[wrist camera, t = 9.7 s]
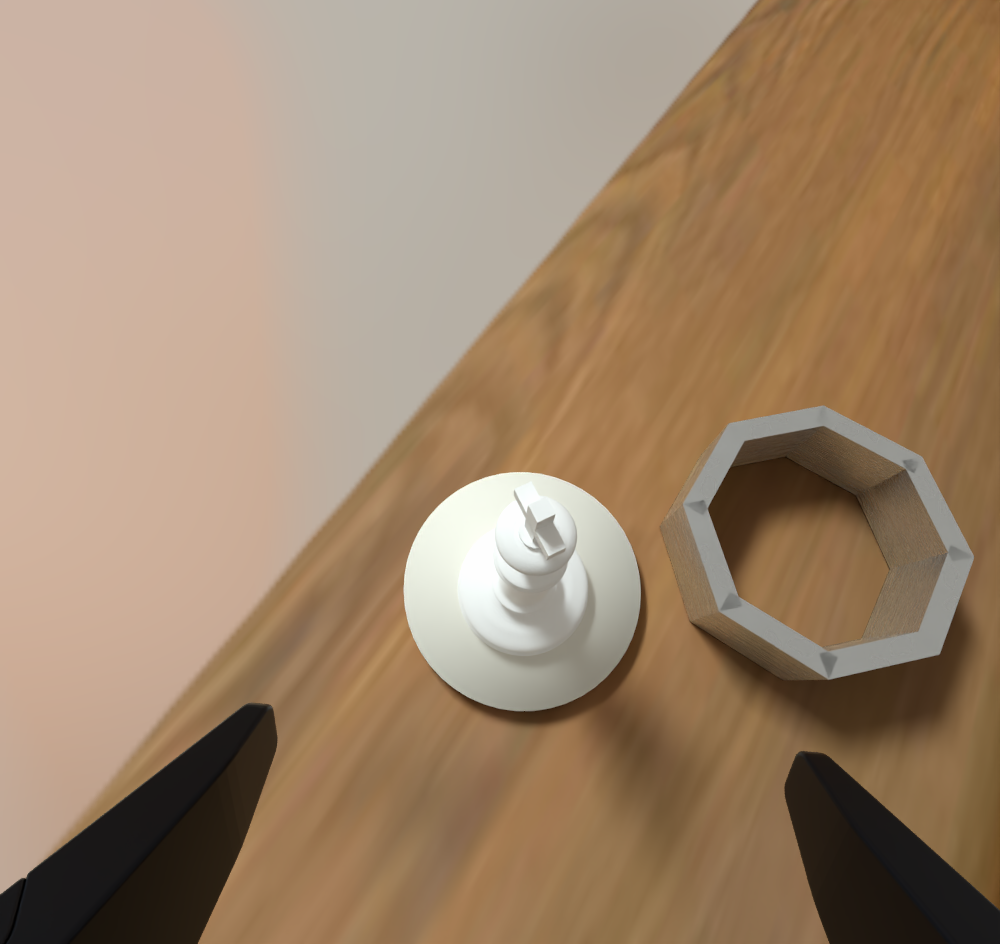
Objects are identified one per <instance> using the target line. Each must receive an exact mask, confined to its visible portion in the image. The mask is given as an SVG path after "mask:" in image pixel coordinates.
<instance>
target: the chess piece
mask: <svg viewBox="0 0 1000 944" xmlns="http://www.w3.org/2000/svg"><path fill="white" fill-rule="evenodd" d="M514 497H515V499H516V500H515V501H513V502H512V503H510V504H509V505H508V506H507V507H506V508H505V509H504V510H503V511H502V513H501V514H500V516H499V518H498V521H497V524H496V528H495V529H493V530H491V531H489V532H488V533H486V534H485V535H484V536H482V537H481V538H480V539H479V540H478V541H477V542H476V543H475V544H474V545H473V546H472V548H471V549H470V551H469V552H468V554H467V556H466V557H465V560H464V562H463V564H462V567H461V570H460V573H459V578H458V600H459V605H460V609H461V612H462V614H463V617H464V619H465V621H466V622H467V624H468V626H469V627H470V629H471V630H472V631H473V632H474V634H475V635H476V636H477V637H478V638H479V639H480V640H482V641H483V642H484V643H486V644H487V645H488V646H490V647H492V648H494V649H496V650H498V651H500V652H503V653H506V654H510V655H516V656H531V655H538V654H542V653H545V652H547V651H550V650H552V649H554V648H556V647H557V646H559V645H560V644H562V643H563V642H564V641H566V640H567V639H568V638H569V637H570V636H571V635H572V634H573V632H574V631H575V630H576V628H577V627H578V625H579V624H580V622H581V620H582V618H583V615H584V613H585V609H586V606H587V600H588V579H587V574H586V570H585V567H584V564H583V562H582V559H581V558H580V556H579V554H578V552H577V551H576V550H575V548H576V543H577V529H576V525H575V522H574V520H573V518H572V516H571V514H570V513H569V511H568V510H567V509H566V508H565V507H564V506H563V505H562V504H560V503H559V502H557V501H556V500H554V499H552V498H549V497H547V496H540V495H538V493H537V491H536V489H535V487H534V485H533V483H532V481H531V482H528V483H526V484H524V485H522V486H520V487H517V488H515V489H514Z"/></svg>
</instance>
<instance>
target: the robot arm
mask: <svg viewBox="0 0 1000 944" xmlns="http://www.w3.org/2000/svg"><path fill="white" fill-rule="evenodd" d="M276 748H277V731H276V724H275V717H274V711H273V708H272V706H271V705H269V704H260V703H248V704H246V705H244V706H242V707H241V708H240V709H239V710H237V711H236V712H235V713H233V714H232V715H231V716H230V717H228V718H227V719H226V720H224V721H223V722H222V723H221V724H219V725H218V726H217V727H215V728H214V729H213V730H212V731H210V732H209V733H208V734H206V735H205V736H204V737H203V738H201V739H200V740H199V741H197V742H196V743H195V744H194V745H192V746H191V747H190V748H188V749H187V750H186V751H185V752H183V753H182V754H181V755H179V756H178V757H177V758H176V759H174V760H173V761H172V762H170V763H169V764H168V765H167V766H165V767H164V768H163V769H161V770H160V771H159V772H158V773H156V774H155V775H154V776H152V777H151V778H150V779H149V780H147V781H146V782H145V783H143V784H142V785H141V786H140V787H138V788H137V789H136V790H134V791H133V792H132V793H131V794H129V795H128V796H127V797H125V798H124V799H123V800H122V801H120V802H119V803H118V804H116V805H115V806H114V807H113V808H111V809H110V810H109V811H107V812H106V813H105V814H104V815H102V816H101V817H100V818H98V819H97V820H96V821H95V822H93V823H92V824H91V825H89V826H88V827H87V828H86V829H84V830H83V831H82V832H80V833H79V834H78V835H77V836H75V837H74V838H73V839H71V840H70V841H69V842H68V843H66V844H65V845H64V846H62V847H61V848H60V849H59V850H57V851H56V852H55V853H53V854H52V855H51V856H50V857H48V858H47V859H46V860H44V861H43V862H42V863H41V864H39V865H38V866H37V867H35V868H34V869H33V870H32V871H30V872H29V873H28V875H27V877H26V878H21V879H20V880H18V881H17V882H16V883H14V884H13V885H12V886H11V887H9V888H8V889H7V890H6V891H4V892H3V893H2V894H0V944H198V942H199V940H200V937H201V935H202V933H203V931H204V929H205V927H206V924H207V922H208V920H209V918H210V916H211V914H212V911H213V909H214V907H215V905H216V903H217V901H218V898H219V896H220V894H221V892H222V890H223V888H224V885H225V883H226V881H227V879H228V877H229V875H230V872H231V870H232V868H233V866H234V864H235V862H236V859H237V857H238V855H239V852H240V850H241V848H242V845H243V843H244V840H245V837H246V835H247V832H248V829H249V826H250V823H251V821H252V818H253V815H254V812H255V809H256V806H257V803H258V801H259V798H260V795H261V792H262V789H263V786H264V784H265V781H266V778H267V775H268V772H269V769H270V766H271V764H272V761H273V758H274V755H275V752H276ZM785 799H786V803H787V806H788V810H789V813H790V817H791V821H792V824H793V828H794V832H795V835H796V839H797V843H798V846H799V850H800V853H801V857H802V861H803V864H804V868H805V872H806V875H807V879H808V883H809V886H810V889H811V893H812V896H813V899H814V902H815V905H816V908H817V911H818V914H819V917H820V919H821V922H822V925H823V927H824V930H825V933H826V935H827V938H828V941H829V943H830V944H1000V910H999V909H998V908H996V907H995V906H994V905H993V904H992V903H991V902H990V901H989V900H988V899H986V898H985V897H984V896H983V895H982V894H981V893H980V892H979V891H978V890H976V889H975V888H974V887H973V886H972V885H971V884H970V883H969V882H968V881H966V880H965V879H964V878H963V877H962V876H961V875H960V874H959V873H958V872H956V871H955V870H954V869H953V868H952V867H951V866H950V865H949V864H948V863H946V862H945V861H944V860H943V859H942V858H941V857H940V856H939V855H938V854H936V853H935V852H934V851H933V850H932V849H931V848H930V847H929V846H928V845H927V844H925V843H924V842H923V841H922V840H921V839H920V838H919V837H918V836H917V835H915V834H914V833H913V832H912V831H911V830H910V829H909V828H908V827H907V826H905V825H904V824H903V823H902V822H901V821H900V820H899V819H898V818H897V817H895V816H894V815H893V814H892V813H891V812H890V811H889V810H888V809H887V808H885V807H884V806H883V805H882V804H881V803H880V802H879V801H878V800H877V799H875V798H874V797H873V796H872V795H871V794H870V793H869V792H868V791H867V790H865V789H864V788H863V787H862V786H861V785H860V784H859V783H858V782H857V781H855V780H854V779H853V778H852V777H851V776H850V775H849V774H848V773H847V772H845V771H844V770H843V769H842V768H841V767H840V766H839V765H838V764H837V763H835V762H834V761H833V760H832V759H831V758H830V757H828V756H827V755H825V754H823V753H818V752H807V751H801V752H799V753H798V754H796V756H795V759H794V761H793V764H792V767H791V769H790V772H789V774H788V777H787V780H786V782H785Z"/></svg>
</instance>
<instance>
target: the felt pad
mask: <svg viewBox="0 0 1000 944" xmlns="http://www.w3.org/2000/svg"><path fill="white" fill-rule="evenodd" d="M531 481H532V483H533V485H534V487H535V489H536V491H537V493H538V495H540V496H547V497H549V498H552V499H554V500H556V501H557V502H559V503H560V504H562V505H563V506H564V507H565V508H566V509H567V510H568V511H569V513H570V514H571V516H572V518H573V520H574V522H575V525H576V529H577V543H576V548H575V550H576V551H577V552H578V554H579V556H580V558H581V559H582V562H583V564H584V567H585V570H586V574H587V579H588V600H587V606H586V609H585V613H584V615H583V618H582V620H581V622H580V624H579V625H578V627H577V628H576V630H575V631H574V632H573V634H572V635H571V636H570V637H569V638H568V639H567V640H566V641H564V642H563V643H562V644H560V645H559V646H557V647H556V648H554V649H552V650H550V651H547V652H545V653H542V654H538V655H531V656H516V655H510V654H506V653H503V652H500V651H498V650H496V649H494V648H492V647H490V646H488V645H487V644H486V643H484V642H483V641H482V640H480V639H479V638H478V637H477V636H476V635H475V634H474V632H473V631H472V630H471V629H470V627H469V626H468V624H467V622H466V621H465V619H464V617H463V614H462V612H461V609H460V605H459V600H458V578H459V573H460V570H461V567H462V564H463V562H464V560H465V557H466V556H467V554H468V552H469V551H470V549H471V548H472V546H473V545H474V544H475V543H476V542H477V541H478V540H479V539H480V538H481V537H482V536H484V535H485V534H486V533H488V532H489V531H491V530H493V529H495V528H496V524H497V521H498V518H499V516H500V514H501V513H502V511H503V510H504V509H505V508H506V507H507V506H508V505H509V504H510V503H512V502H513V501H515V500H516V499H515V497H514V489H515V488H517V487H520V486H522V485H524V484H526V483H528V482H531ZM640 600H641V586H640V576H639V571H638V566H637V562H636V558H635V555H634V553H633V550H632V547H631V544H630V543H629V541H628V539H627V537H626V535H625V533H624V531H623V530H622V528H621V527H620V525H619V524H618V522H617V521H616V519H615V518H614V517H613V516H612V515H611V514H610V512H609V511H608V510H607V509H606V508H605V507H604V506H603V505H602V504H601V503H600V502H598V501H597V500H596V499H595V498H594V497H592V496H591V495H589V494H588V493H587V492H585V491H584V490H582V489H580V488H578V487H577V486H575V485H573V484H571V483H569V482H566V481H564V480H561V479H558V478H556V477H551V476H547V475H543V474H537V473H528V472H512V473H504V474H498V475H494V476H490V477H486V478H483V479H480V480H478V481H475V482H473V483H470V484H469V485H467V486H465V487H463V488H461V489H459V490H458V491H456V492H455V493H454V494H452V495H451V496H449V497H448V498H447V499H446V500H445V501H443V502H442V503H441V504H440V505H439V506H438V507H437V508H436V509H435V510H434V511H433V513H432V514H431V515H430V516H429V517H428V519H427V520H426V521H425V523H424V525H423V526H422V528H421V529H420V531H419V532H418V535H417V537H416V539H415V541H414V543H413V545H412V548H411V551H410V554H409V557H408V560H407V565H406V570H405V577H404V602H405V610H406V615H407V620H408V624H409V626H410V629H411V632H412V635H413V638H414V640H415V642H416V644H417V646H418V648H419V650H420V652H421V653H422V655H423V656H424V658H425V659H426V660H427V662H428V663H429V665H430V666H431V667H432V668H433V669H434V670H435V672H436V673H437V674H438V675H439V676H440V677H441V678H442V679H443V680H444V681H446V682H447V683H448V684H449V685H450V686H452V687H453V688H454V689H456V690H457V691H459V692H460V693H462V694H464V695H465V696H467V697H468V698H471V699H473V700H475V701H477V702H480V703H482V704H484V705H488V706H491V707H495V708H498V709H504V710H512V711H537V710H543V709H550V708H553V707H557V706H560V705H563V704H566V703H568V702H570V701H573V700H575V699H577V698H579V697H581V696H583V695H584V694H586V693H587V692H589V691H590V690H592V689H593V688H595V687H596V686H597V685H598V684H599V683H600V682H602V681H603V680H604V679H605V678H606V677H607V676H608V675H609V674H610V673H611V672H612V670H613V669H614V668H615V667H616V666H617V665H618V663H619V661H620V660H621V658H622V657H623V655H624V654H625V652H626V650H627V648H628V646H629V644H630V642H631V640H632V637H633V635H634V631H635V628H636V625H637V622H638V616H639V610H640Z"/></svg>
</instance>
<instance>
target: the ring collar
mask: <svg viewBox="0 0 1000 944" xmlns="http://www.w3.org/2000/svg"><path fill="white" fill-rule="evenodd" d="M781 457H787V458H788V459H790V460H792V461H794V462H796V463H798V464H799V465H801V466H803V467H805V468H807V469H809V470H810V471H812V472H814V473H816V474H818V475H820V476H822V477H823V478H825V479H827V480H829V481H831V482H833V483H834V484H836V485H838V486H840V487H842V488H844V489H845V490H847V491H849V492H851V493H853V494H855V495H856V496H857V499H858V501H859V503H860V505H861V507H862V509H863V512H864V514H865V516H866V518H867V520H868V522H869V525H870V527H871V529H872V531H873V533H874V535H875V538H876V540H877V542H878V544H879V546H880V548H881V551H882V553H883V555H884V557H885V559H886V562H887V564H888V566H889V568H890V571H889V573H888V576H887V578H886V581H885V583H884V585H883V588H882V590H881V593H880V595H879V598H878V600H877V603H876V605H875V608H874V610H873V612H872V615H871V617H870V620H869V622H868V625H867V627H866V630H865V632H864V635H863V637H862V639H857V640H853V641H848V642H844V643H839V644H835V645H830V646H826V647H820V646H819V645H817V644H815V643H814V642H812V641H810V640H809V639H807V638H805V637H804V636H802V635H800V634H799V633H797V632H796V631H794V630H792V629H791V628H789V627H787V626H786V625H784V624H782V623H781V622H779V621H778V620H776V619H774V618H773V617H771V616H769V615H768V614H766V613H764V612H763V611H761V610H759V609H758V608H756V607H755V606H753V605H751V604H750V603H748V602H746V601H745V600H743V599H741V598H740V597H739V596H738V594H737V591H736V588H735V585H734V582H733V580H732V577H731V574H730V571H729V568H728V565H727V563H726V560H725V557H724V554H723V551H722V548H721V546H720V543H719V540H718V537H717V534H716V531H715V529H714V526H713V523H712V520H711V517H710V515H709V512H708V509H707V508H708V506H709V504H710V503H711V501H712V499H713V497H714V495H715V494H716V492H717V490H718V488H719V486H720V484H721V483H722V481H723V479H724V477H725V475H726V474H727V472H728V470H729V468H730V467H734V466H739V465H744V464H750V463H755V462H760V461H765V460H770V459H775V458H781ZM660 529H661V532H662V535H663V538H664V542H665V545H666V548H667V551H668V554H669V557H670V560H671V564H672V567H673V570H674V573H675V576H676V579H677V582H678V586H679V589H680V592H681V595H682V598H683V601H684V605H685V608H686V611H687V614H688V617H689V620H690V622H692V623H693V624H695V625H697V626H698V627H700V628H701V629H703V630H704V631H706V632H708V633H709V634H711V635H712V636H714V637H716V638H717V639H719V640H720V641H722V642H723V643H725V644H727V645H728V646H730V647H731V648H733V649H735V650H736V651H738V652H739V653H741V654H742V655H744V656H746V657H747V658H749V659H750V660H752V661H754V662H755V663H757V664H758V665H760V666H761V667H763V668H765V669H766V670H768V671H769V672H771V673H773V674H774V675H776V676H777V677H779V678H780V679H782V680H830V679H834V678H838V677H843V676H847V675H852V674H856V673H861V672H865V671H869V670H874V669H878V668H883V667H887V666H891V665H896V664H900V663H905V662H909V661H913V660H918V659H922V658H927V657H931V656H936V655H939V654H940V652H941V649H942V647H943V644H944V641H945V638H946V635H947V632H948V630H949V627H950V624H951V621H952V618H953V616H954V613H955V610H956V607H957V604H958V601H959V599H960V596H961V593H962V590H963V587H964V585H965V582H966V579H967V576H968V573H969V570H970V568H971V565H972V562H973V559H974V556H973V554H972V552H971V550H970V548H969V546H968V544H967V542H966V540H965V538H964V536H963V535H962V533H961V531H960V529H959V527H958V525H957V523H956V521H955V519H954V517H953V515H952V513H951V511H950V510H949V508H948V506H947V504H946V502H945V500H944V498H943V496H942V494H941V492H940V490H939V488H938V486H937V485H936V483H935V481H934V479H933V477H932V475H931V473H930V471H929V469H928V467H927V465H926V463H925V461H924V460H923V458H922V456H920V455H918V454H916V453H914V452H912V451H910V450H908V449H906V448H904V447H902V446H900V445H899V444H897V443H895V442H893V441H891V440H889V439H887V438H885V437H883V436H881V435H879V434H877V433H875V432H873V431H871V430H870V429H868V428H866V427H864V426H862V425H860V424H858V423H856V422H854V421H852V420H850V419H848V418H846V417H844V416H842V415H841V414H839V413H837V412H835V411H833V410H831V409H829V408H827V407H825V406H819V407H814V408H808V409H803V410H798V411H792V412H787V413H782V414H776V415H771V416H766V417H760V418H755V419H750V420H744V421H739V422H734V423H729V424H728V425H727V426H726V427H725V428H724V429H723V430H722V432H721V433H720V434H719V435H718V436H717V437H716V438H715V439H714V441H713V442H712V443H711V444H710V445H709V446H708V447H707V449H706V450H705V451H704V452H703V453H702V454H701V456H700V458H699V459H698V461H697V463H696V464H695V466H694V468H693V470H692V471H691V473H690V475H689V477H688V478H687V480H686V482H685V484H684V485H683V487H682V489H681V490H680V492H679V494H678V496H677V497H676V499H675V501H674V503H673V504H672V506H671V508H670V510H669V511H668V513H667V515H666V517H665V518H664V520H663V522H662V523H661V525H660Z"/></svg>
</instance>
